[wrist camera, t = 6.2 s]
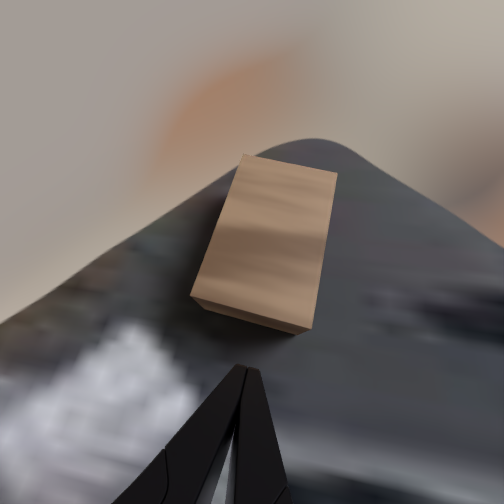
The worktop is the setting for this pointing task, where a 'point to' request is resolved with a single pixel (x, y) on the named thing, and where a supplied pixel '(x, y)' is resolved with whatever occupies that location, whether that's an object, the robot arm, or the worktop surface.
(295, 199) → the walnut block
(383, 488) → the worktop surface
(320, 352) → the worktop surface
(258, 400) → the robot arm
